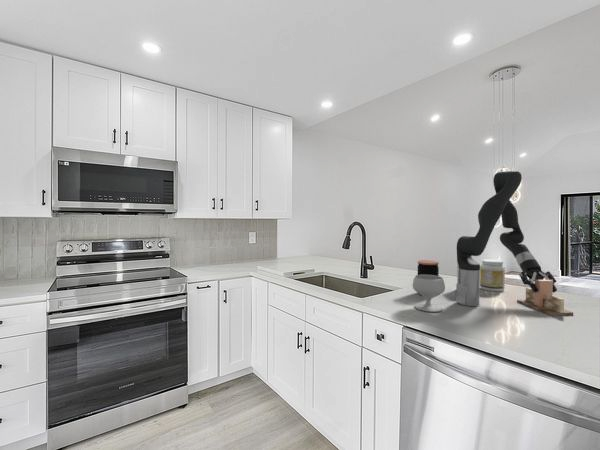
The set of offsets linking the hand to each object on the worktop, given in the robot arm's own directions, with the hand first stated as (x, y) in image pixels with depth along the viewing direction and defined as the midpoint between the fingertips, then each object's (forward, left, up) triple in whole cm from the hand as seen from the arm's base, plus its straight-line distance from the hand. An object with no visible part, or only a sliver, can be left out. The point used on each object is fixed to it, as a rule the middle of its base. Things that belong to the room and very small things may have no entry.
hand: (545, 291), depth 140 cm
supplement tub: (+5, +36, -8) cm, 38 cm away
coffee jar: (-38, +34, -8) cm, 52 cm away
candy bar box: (-15, +34, -8) cm, 38 cm away
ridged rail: (0, +1, -8) cm, 8 cm away
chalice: (-53, +11, -8) cm, 55 cm away
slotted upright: (0, +1, -7) cm, 7 cm away
